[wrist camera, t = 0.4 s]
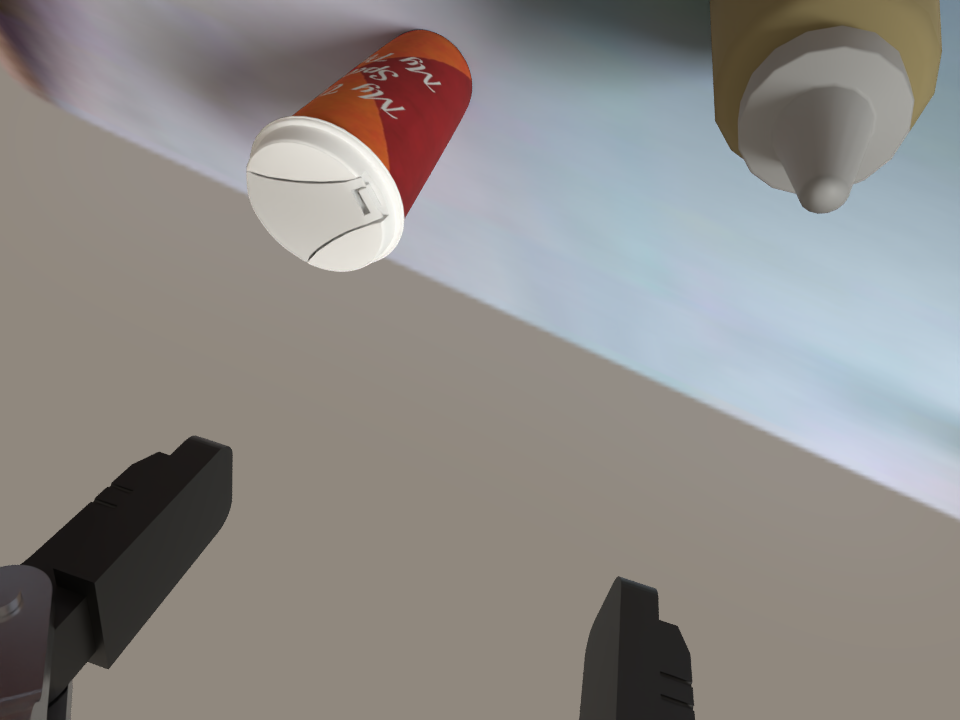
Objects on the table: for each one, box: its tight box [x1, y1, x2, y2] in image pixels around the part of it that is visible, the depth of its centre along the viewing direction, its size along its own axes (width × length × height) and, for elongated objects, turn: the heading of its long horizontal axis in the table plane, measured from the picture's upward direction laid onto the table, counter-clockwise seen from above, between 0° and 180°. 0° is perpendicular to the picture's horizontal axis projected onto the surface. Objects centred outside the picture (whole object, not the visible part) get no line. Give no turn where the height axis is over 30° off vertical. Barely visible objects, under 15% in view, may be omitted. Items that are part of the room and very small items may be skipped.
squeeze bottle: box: [710, 0, 942, 213], centre depth 22 cm, size 8×8×18 cm
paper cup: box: [247, 30, 472, 272], centre depth 33 cm, size 8×8×14 cm
